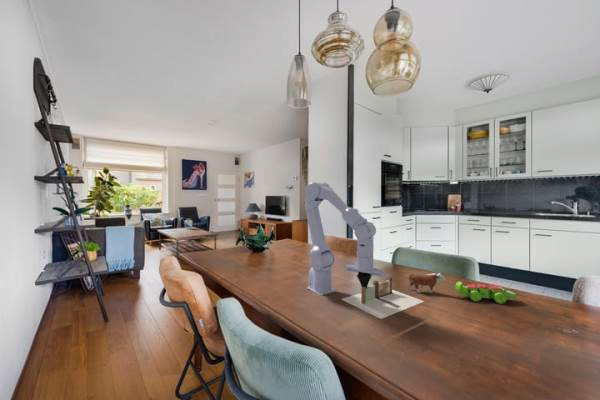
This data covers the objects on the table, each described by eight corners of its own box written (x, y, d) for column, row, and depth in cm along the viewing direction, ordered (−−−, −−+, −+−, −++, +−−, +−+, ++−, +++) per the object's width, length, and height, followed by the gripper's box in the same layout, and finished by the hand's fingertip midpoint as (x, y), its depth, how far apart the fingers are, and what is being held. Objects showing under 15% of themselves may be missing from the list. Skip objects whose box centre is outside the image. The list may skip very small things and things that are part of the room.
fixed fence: (376, 298, 93) (376, 282, 93) (371, 297, 95) (371, 281, 95) (393, 293, 99) (393, 278, 99) (389, 291, 101) (389, 276, 101)
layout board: (340, 300, 93) (341, 299, 93) (383, 287, 106) (383, 286, 106) (380, 320, 78) (380, 318, 78) (424, 302, 91) (424, 301, 91)
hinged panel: (372, 296, 94) (372, 282, 94) (375, 297, 93) (375, 282, 93) (360, 302, 89) (360, 287, 89) (364, 304, 88) (364, 288, 88)
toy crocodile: (510, 298, 95) (510, 282, 95) (520, 305, 89) (521, 288, 89) (452, 293, 100) (452, 278, 100) (458, 300, 94) (458, 284, 93)
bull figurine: (446, 295, 98) (447, 274, 97) (409, 293, 100) (410, 272, 100) (442, 291, 102) (443, 271, 102) (407, 289, 105) (407, 269, 104)
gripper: (388, 256, 90) (388, 294, 91) (350, 251, 99) (350, 285, 99) (382, 260, 85) (382, 300, 85) (343, 254, 93) (342, 291, 93)
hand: (364, 293), depth 92 cm, fingers closed, pressing on hinged panel
